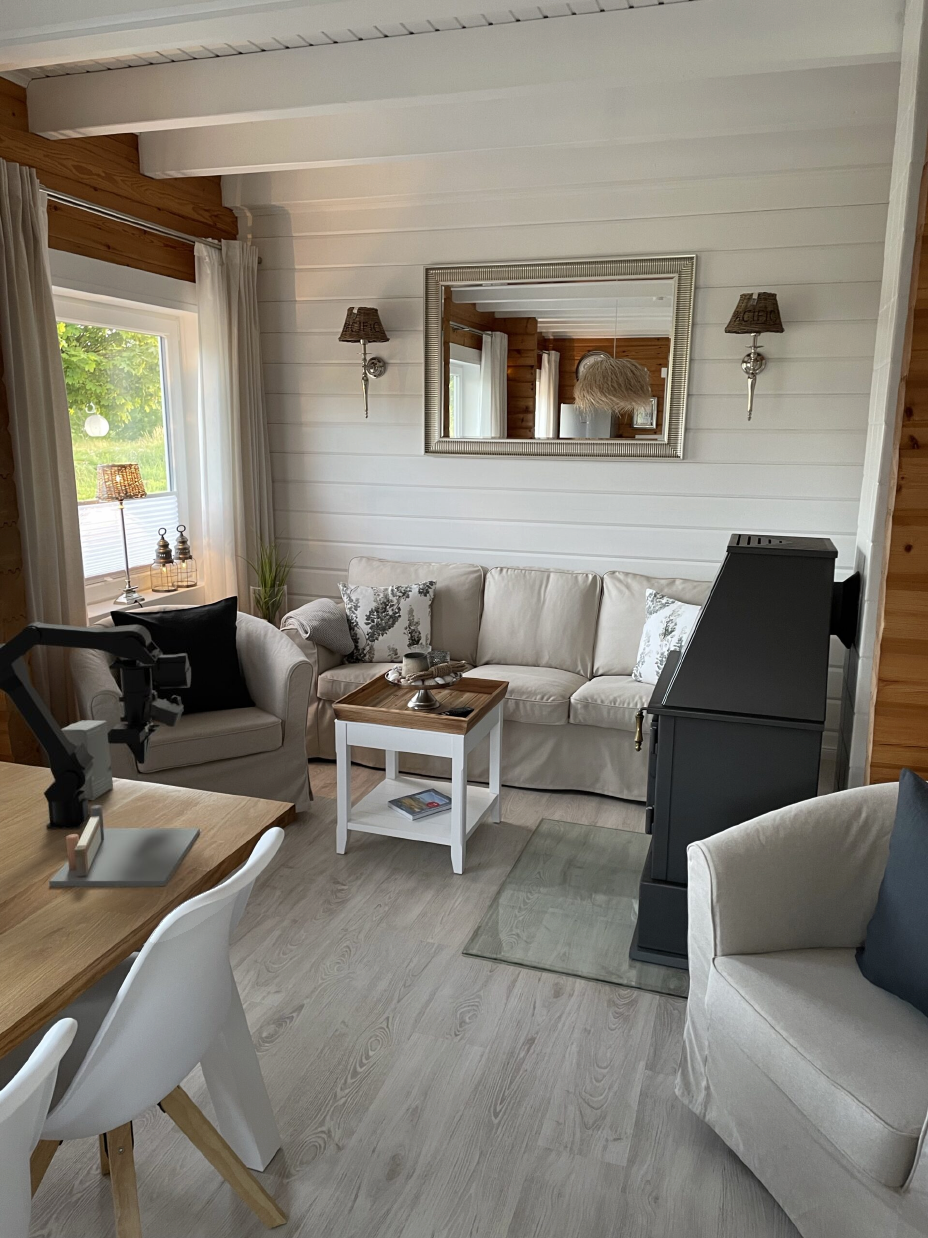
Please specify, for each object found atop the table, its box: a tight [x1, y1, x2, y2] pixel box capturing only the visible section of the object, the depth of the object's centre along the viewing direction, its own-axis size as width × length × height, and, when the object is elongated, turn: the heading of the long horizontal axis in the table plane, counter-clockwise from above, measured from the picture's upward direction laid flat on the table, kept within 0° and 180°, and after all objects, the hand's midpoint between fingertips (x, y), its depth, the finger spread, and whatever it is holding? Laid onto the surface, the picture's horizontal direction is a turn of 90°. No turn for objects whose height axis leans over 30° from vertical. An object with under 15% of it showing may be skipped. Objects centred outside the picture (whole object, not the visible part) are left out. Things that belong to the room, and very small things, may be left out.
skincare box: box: [61, 719, 114, 801], centre depth 198 cm, size 8×7×16 cm
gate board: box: [49, 804, 201, 887], centre depth 168 cm, size 20×22×8 cm
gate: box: [74, 816, 101, 876], centre depth 165 cm, size 14×2×5 cm, turn 12°
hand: (142, 763), depth 184 cm, fingers closed
